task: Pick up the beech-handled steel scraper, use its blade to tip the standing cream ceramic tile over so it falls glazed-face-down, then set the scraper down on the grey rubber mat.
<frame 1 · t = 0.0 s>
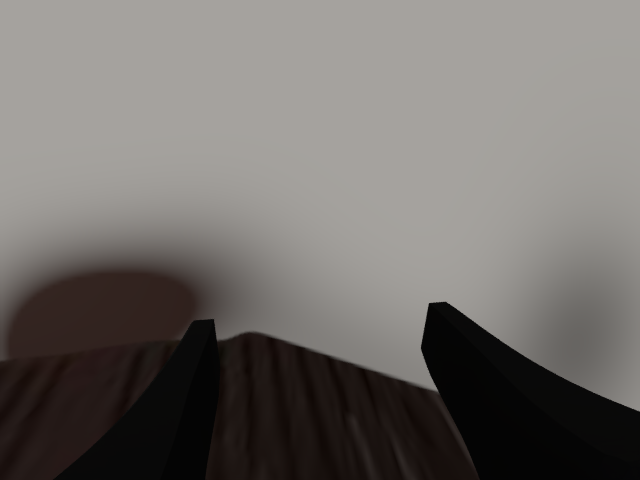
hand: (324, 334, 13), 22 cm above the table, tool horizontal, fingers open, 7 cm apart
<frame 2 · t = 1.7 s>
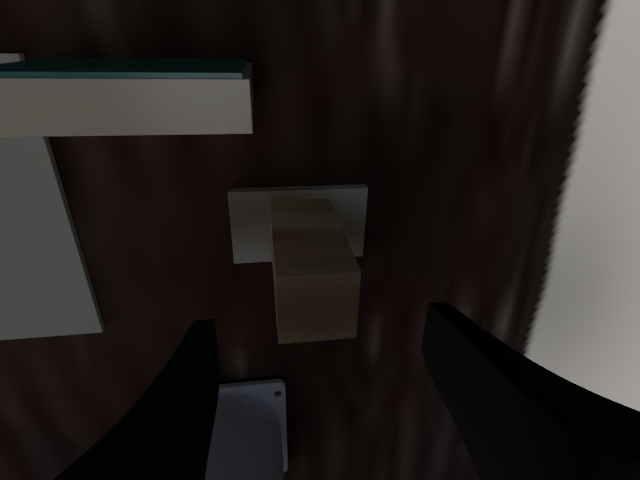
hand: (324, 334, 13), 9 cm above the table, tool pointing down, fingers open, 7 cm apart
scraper: (298, 221, 21), on the table
tile: (158, 80, 17), on the table
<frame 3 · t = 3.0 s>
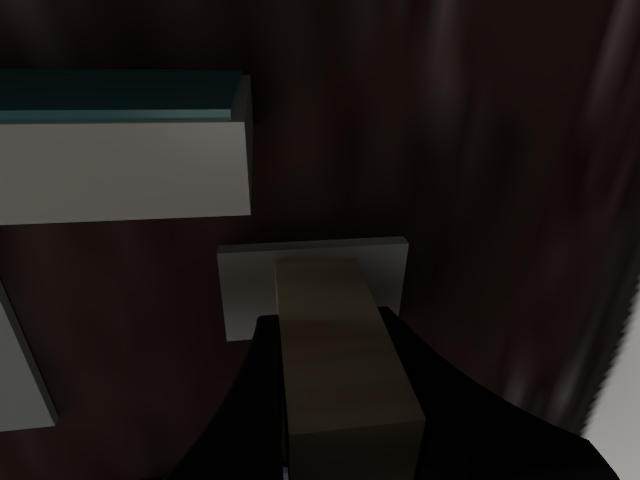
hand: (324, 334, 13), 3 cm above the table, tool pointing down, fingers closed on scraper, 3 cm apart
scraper: (313, 285, 16), on the table, touching gripper
tile: (115, 101, 12), on the table
when the fingers open (4 cm above the table, at t = 9.9 s): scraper stays where it is, resting on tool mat.
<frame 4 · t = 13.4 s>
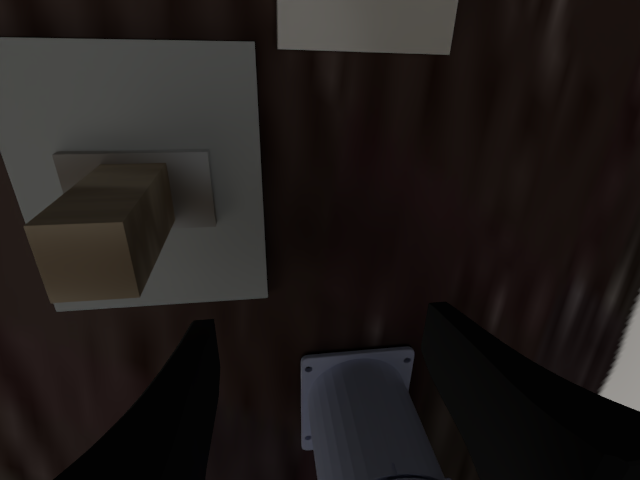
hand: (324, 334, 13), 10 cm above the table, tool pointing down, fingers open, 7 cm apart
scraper: (142, 189, 20), resting on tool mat
tile: (362, 51, 19), on the table, tilted 90°
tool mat: (145, 189, 21), on the table
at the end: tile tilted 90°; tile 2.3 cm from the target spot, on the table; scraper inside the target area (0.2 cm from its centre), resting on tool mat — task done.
